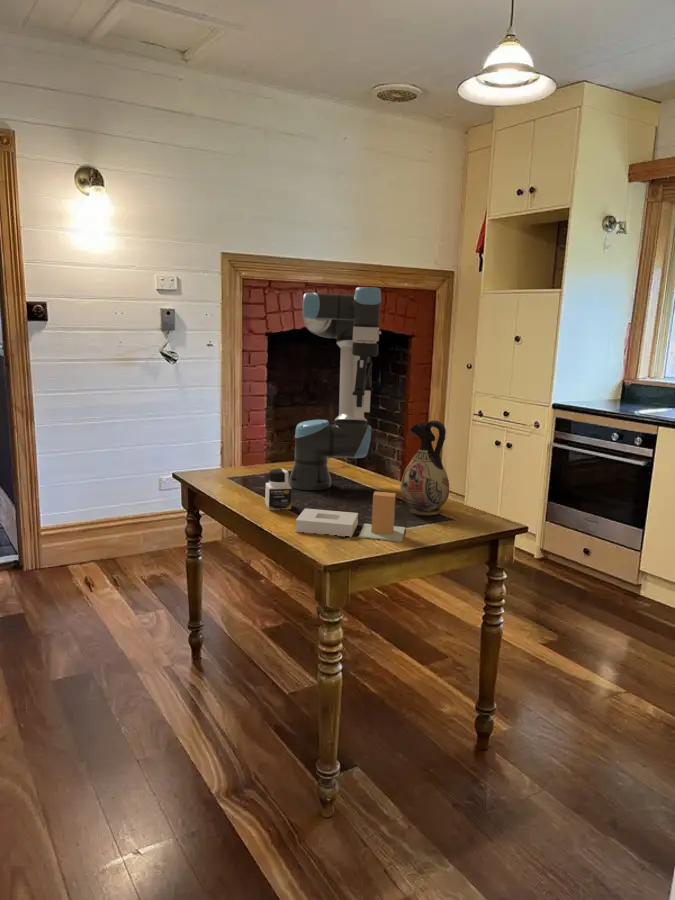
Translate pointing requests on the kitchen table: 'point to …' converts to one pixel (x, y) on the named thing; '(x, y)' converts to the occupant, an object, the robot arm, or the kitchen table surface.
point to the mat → (395, 536)
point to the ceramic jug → (426, 473)
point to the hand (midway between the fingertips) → (362, 415)
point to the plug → (383, 512)
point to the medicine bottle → (278, 490)
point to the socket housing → (327, 522)
